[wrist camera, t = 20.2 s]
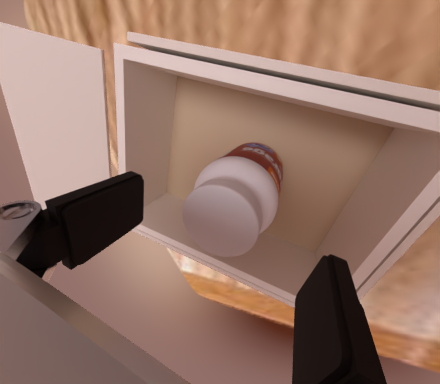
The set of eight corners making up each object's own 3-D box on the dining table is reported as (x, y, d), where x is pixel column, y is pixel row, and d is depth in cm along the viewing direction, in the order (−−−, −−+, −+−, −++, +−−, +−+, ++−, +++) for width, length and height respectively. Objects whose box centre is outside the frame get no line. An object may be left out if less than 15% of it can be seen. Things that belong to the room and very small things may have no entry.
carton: (428, 111, 14) (545, 110, 8) (322, 265, 22) (335, 329, 15) (174, 57, 19) (113, 27, 12) (162, 199, 27) (120, 226, 20)
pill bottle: (297, 172, 18) (302, 238, 9) (252, 206, 22) (221, 282, 12) (254, 127, 18) (212, 145, 9) (216, 168, 21) (154, 214, 12)
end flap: (101, 49, 12) (-20, 16, 11) (112, 218, 19) (38, 214, 17) (104, 50, 13) (-11, 19, 11) (113, 214, 20) (42, 211, 18)
